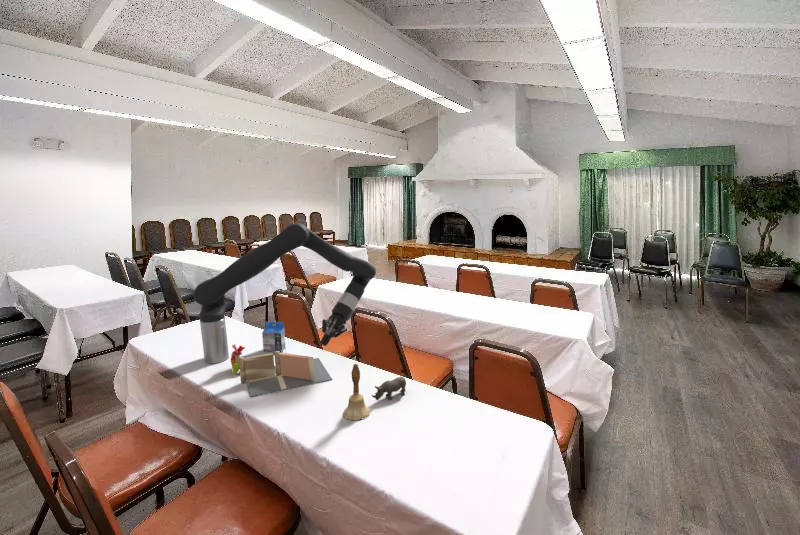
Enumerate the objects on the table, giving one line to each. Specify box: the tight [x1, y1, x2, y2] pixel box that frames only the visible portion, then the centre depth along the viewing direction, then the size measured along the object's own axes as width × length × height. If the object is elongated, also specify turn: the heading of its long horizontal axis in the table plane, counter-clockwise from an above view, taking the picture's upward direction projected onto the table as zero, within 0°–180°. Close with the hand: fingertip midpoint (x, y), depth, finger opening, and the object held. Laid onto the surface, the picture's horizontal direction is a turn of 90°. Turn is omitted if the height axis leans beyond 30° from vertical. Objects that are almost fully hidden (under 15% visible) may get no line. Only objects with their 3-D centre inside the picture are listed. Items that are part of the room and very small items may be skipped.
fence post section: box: [239, 351, 281, 384], centre depth 147 cm, size 2×14×9 cm, turn 115°
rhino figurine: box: [371, 376, 407, 401], centre depth 133 cm, size 4×14×6 cm, turn 125°
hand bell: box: [342, 363, 371, 421], centre depth 123 cm, size 8×8×16 cm
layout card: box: [247, 357, 333, 398], centre depth 150 cm, size 21×28×1 cm
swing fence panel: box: [279, 352, 315, 381], centre depth 146 cm, size 2×14×8 cm, turn 70°
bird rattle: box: [230, 344, 246, 375], centre depth 154 cm, size 6×11×9 cm
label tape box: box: [261, 321, 287, 353], centre depth 174 cm, size 9×4×12 cm, turn 80°
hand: (322, 344), depth 153 cm, fingers closed
